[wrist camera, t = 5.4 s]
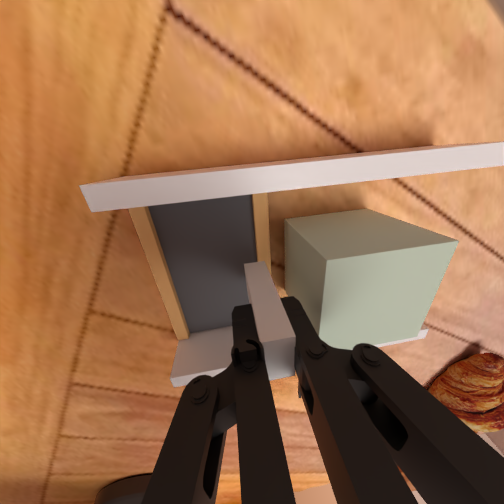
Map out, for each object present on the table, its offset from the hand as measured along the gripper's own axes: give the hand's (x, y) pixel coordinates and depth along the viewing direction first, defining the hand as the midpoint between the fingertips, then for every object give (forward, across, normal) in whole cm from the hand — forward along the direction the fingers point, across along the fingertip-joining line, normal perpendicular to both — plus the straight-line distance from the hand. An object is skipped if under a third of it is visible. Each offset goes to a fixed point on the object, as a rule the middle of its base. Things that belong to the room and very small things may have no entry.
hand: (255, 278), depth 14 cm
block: (+3, +6, 0) cm, 7 cm away
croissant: (+3, +30, -29) cm, 42 cm away
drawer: (+3, -3, 0) cm, 4 cm away
